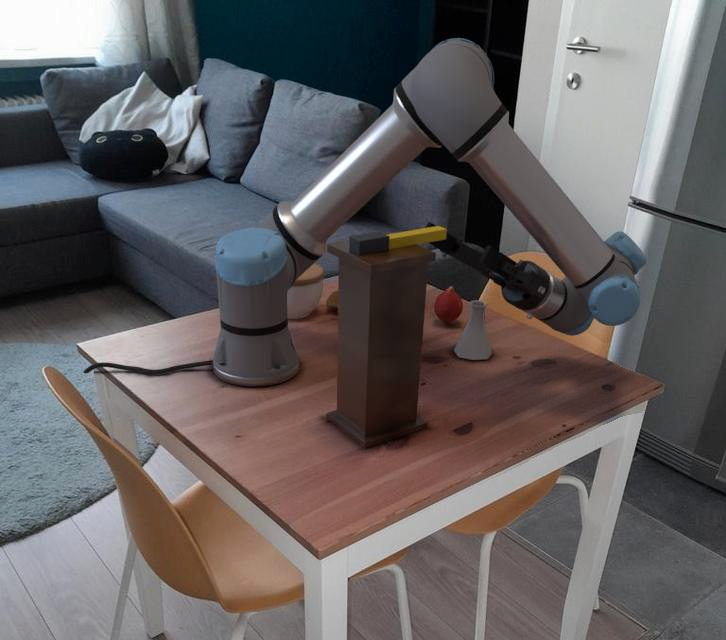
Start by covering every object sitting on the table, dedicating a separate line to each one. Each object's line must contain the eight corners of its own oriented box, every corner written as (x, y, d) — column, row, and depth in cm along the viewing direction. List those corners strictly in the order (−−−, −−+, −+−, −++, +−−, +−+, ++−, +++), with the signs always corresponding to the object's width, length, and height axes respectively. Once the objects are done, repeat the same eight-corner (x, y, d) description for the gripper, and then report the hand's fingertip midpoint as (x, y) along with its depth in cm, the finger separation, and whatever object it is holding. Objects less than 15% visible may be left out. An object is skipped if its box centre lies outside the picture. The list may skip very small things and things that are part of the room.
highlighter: (436, 235, 118) (437, 221, 117) (447, 240, 116) (448, 226, 115) (348, 250, 110) (349, 236, 109) (359, 255, 108) (359, 241, 107)
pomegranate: (427, 324, 163) (430, 286, 158) (441, 316, 167) (444, 279, 162) (452, 331, 160) (456, 293, 156) (466, 323, 164) (470, 285, 160)
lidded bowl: (336, 313, 166) (336, 261, 160) (289, 329, 159) (288, 274, 153) (297, 297, 174) (296, 247, 168) (250, 311, 166) (248, 258, 160)
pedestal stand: (386, 400, 134) (394, 231, 119) (427, 428, 127) (441, 251, 111) (326, 418, 128) (326, 243, 113) (365, 448, 121) (371, 265, 105)
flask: (491, 347, 154) (497, 297, 149) (492, 362, 148) (499, 311, 143) (453, 344, 155) (458, 295, 149) (453, 360, 149) (458, 308, 143)
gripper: (576, 335, 126) (499, 290, 111) (472, 288, 143) (393, 243, 128) (600, 291, 124) (525, 240, 110) (492, 248, 141) (414, 199, 126)
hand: (454, 241), depth 119 cm, fingers open, 13 cm apart
